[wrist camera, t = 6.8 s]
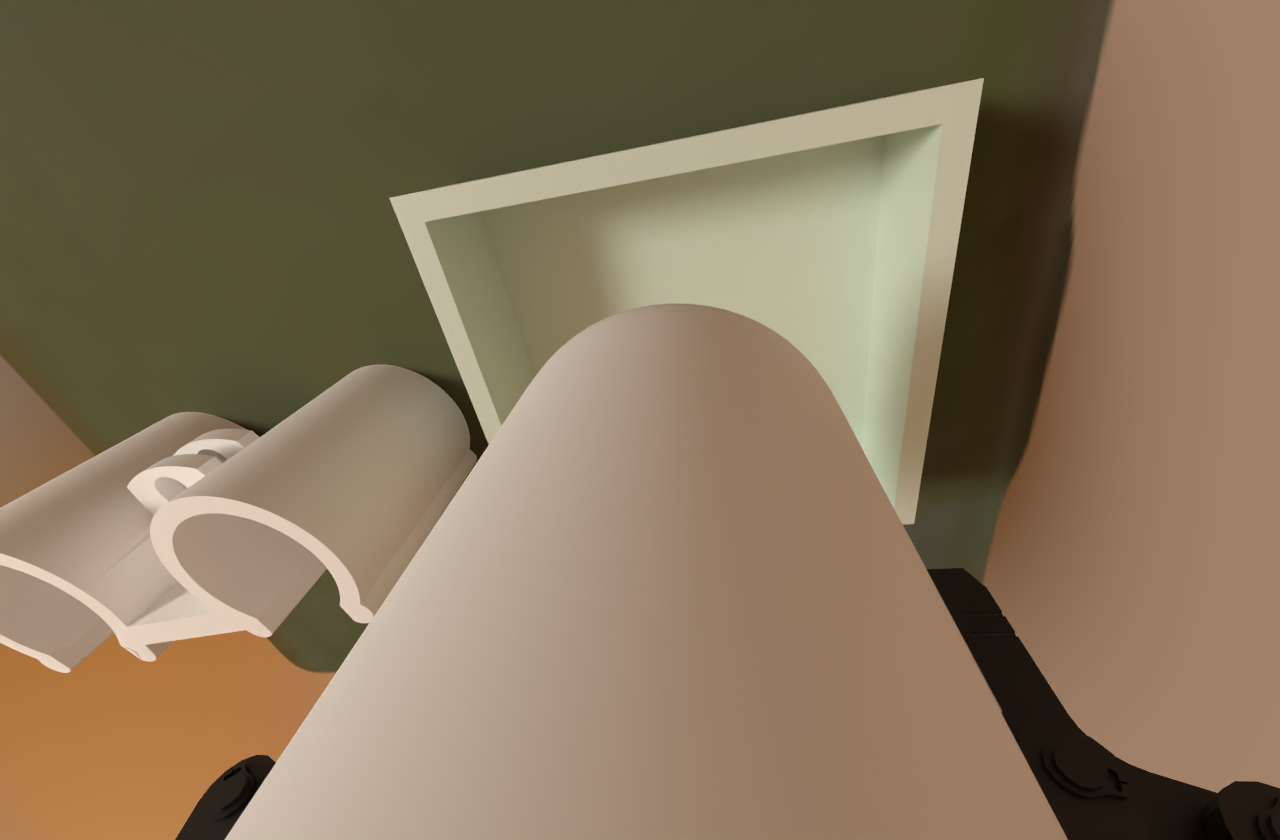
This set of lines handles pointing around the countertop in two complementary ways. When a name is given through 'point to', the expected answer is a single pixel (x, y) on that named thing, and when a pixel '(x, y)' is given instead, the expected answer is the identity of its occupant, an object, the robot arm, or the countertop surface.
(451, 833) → the cup
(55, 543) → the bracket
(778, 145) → the tub
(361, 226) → the countertop surface
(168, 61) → the countertop surface
